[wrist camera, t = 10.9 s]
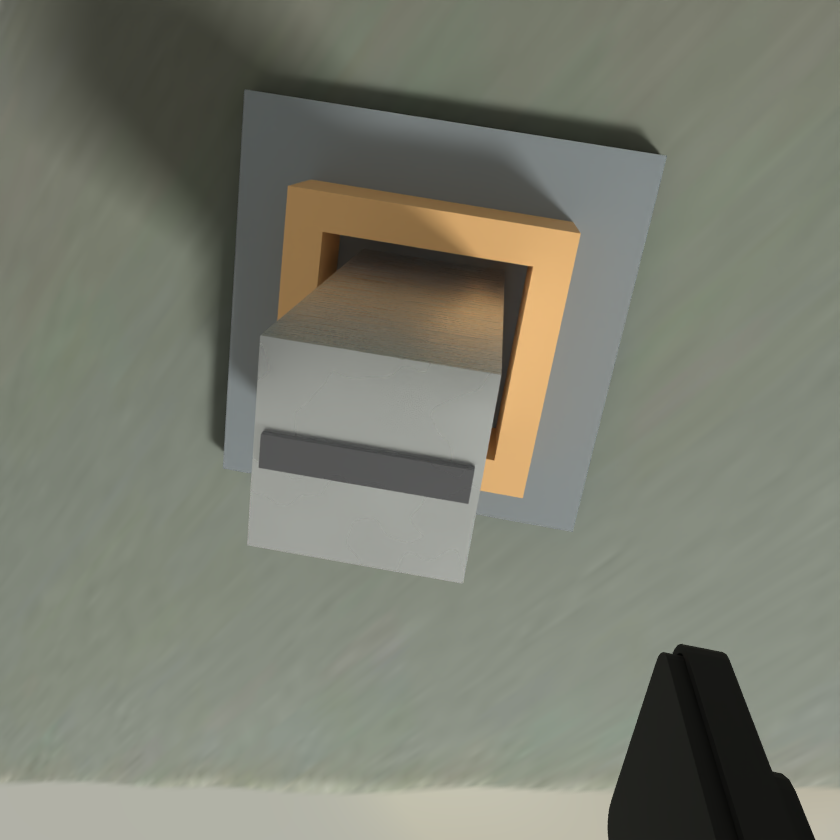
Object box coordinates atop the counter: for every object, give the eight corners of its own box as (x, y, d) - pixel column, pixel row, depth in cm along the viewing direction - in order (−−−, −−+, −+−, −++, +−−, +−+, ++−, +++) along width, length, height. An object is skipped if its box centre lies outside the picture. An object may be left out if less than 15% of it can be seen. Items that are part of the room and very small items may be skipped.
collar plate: (661, 154, 26) (687, 159, 22) (570, 519, 31) (579, 573, 27) (253, 90, 26) (212, 85, 23) (231, 458, 32) (194, 502, 28)
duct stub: (504, 270, 27) (501, 377, 15) (481, 404, 29) (462, 588, 17) (362, 248, 27) (257, 338, 16) (348, 382, 29) (244, 549, 17)
